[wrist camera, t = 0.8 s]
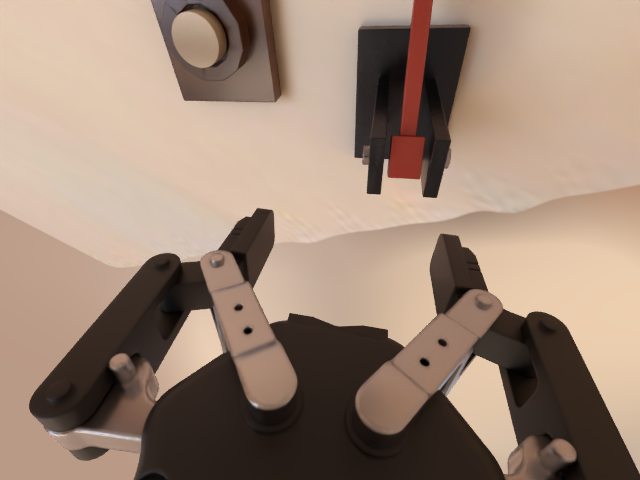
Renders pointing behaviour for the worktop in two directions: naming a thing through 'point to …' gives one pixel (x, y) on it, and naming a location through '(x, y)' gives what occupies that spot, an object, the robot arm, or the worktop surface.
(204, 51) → the button
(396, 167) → the lever
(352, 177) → the worktop surface
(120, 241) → the worktop surface
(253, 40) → the button block
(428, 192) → the bracket
